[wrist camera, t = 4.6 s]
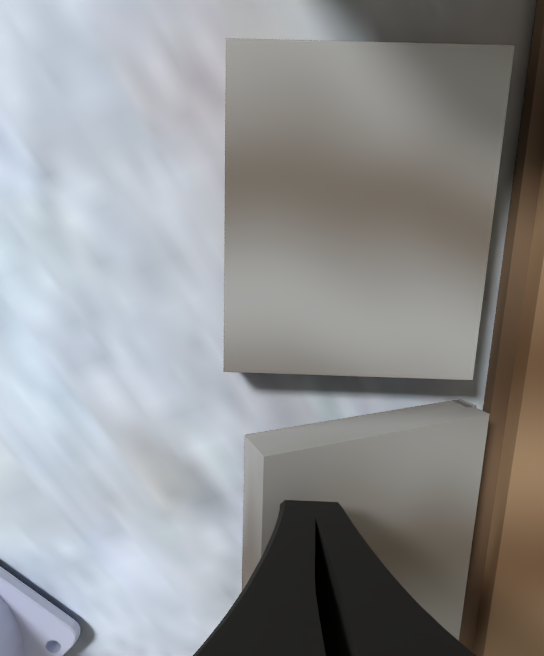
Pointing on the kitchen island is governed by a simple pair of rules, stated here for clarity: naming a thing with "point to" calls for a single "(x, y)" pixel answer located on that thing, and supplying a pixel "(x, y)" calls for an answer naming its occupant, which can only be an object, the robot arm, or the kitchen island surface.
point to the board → (515, 415)
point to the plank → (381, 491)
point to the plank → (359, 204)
